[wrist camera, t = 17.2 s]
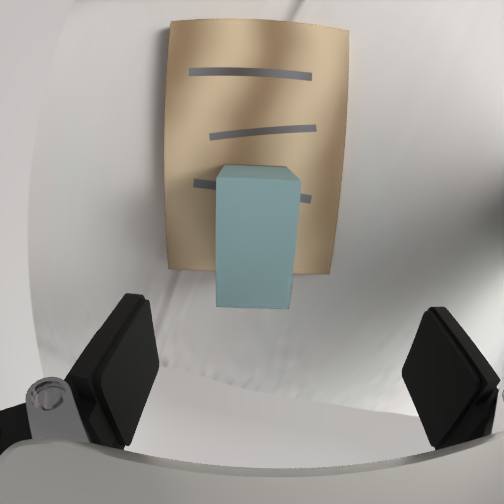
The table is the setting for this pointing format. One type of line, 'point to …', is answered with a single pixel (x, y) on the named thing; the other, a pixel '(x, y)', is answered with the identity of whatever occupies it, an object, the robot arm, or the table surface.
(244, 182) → the block
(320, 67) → the board
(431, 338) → the robot arm
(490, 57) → the table surface
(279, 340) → the table surface
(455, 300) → the table surface
